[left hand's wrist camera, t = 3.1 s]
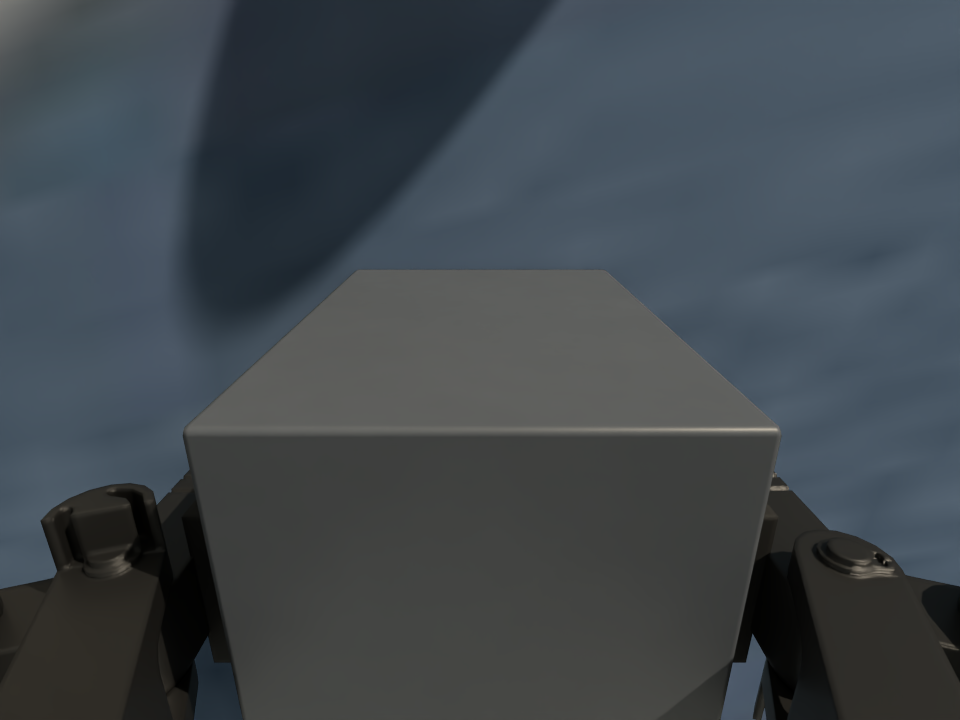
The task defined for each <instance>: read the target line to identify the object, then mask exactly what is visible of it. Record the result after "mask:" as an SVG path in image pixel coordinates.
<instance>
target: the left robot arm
mask: <svg viewBox="0 0 960 720" xmlns="http://www.w3.org/2000/svg"><path fill="white" fill-rule="evenodd" d="M41 524H42V527H43V530H44V533H45V536H46V539H47V542H48V545H49V548H50V551H51V554H52V557H53V560H54V563H55V566H56V569H57V573H56V575H55V577H54V578H51V579H47V580H42V581H37V582H32V583H28V584H23V585H18V586H13V587H8V588H4V589H0V720H194V713H195V705H196V698H197V690H198V676H197V669H196V665H195V661H194V659H195V657H196V655H197V654H198V652H199V650H200V648H201V647H202V645H203V643H204V641H205V640H206V638H207V636H208V637H209V642H210V646H211V650H212V655H213V659H214V662H231V661H230V656H229V651H228V647H227V642H226V637H225V632H224V628H223V623H222V618H221V614H220V609H219V604H218V599H217V595H216V590H215V585H214V581H213V576H212V571H211V567H210V562H209V557H208V552H207V548H206V543H205V538H204V534H203V529H202V524H201V519H200V515H199V510H198V505H197V501H196V496H195V491H194V486H193V482H192V477H191V472H190V470H189V471H188V472H187V473H186V474H185V475H184V479H181V480H180V481H179V482H178V483H177V484H176V485H175V486H174V487H173V488H172V492H171V493H168V494H167V495H166V496H165V497H164V498H163V499H162V500H161V501H160V502H159V503H158V504H157V505H156V501H155V497H154V493H153V491H152V490H150V489H149V488H148V487H146V486H144V485H138V484H132V483H127V484H114V485H108V486H104V487H100V488H96V489H92V490H89V491H86V492H84V493H81V494H79V495H76V496H74V497H71V498H69V499H67V500H66V501H64V502H63V503H61V504H59V505H58V506H56V507H54V508H53V509H51V510H50V511H49V513H48V514H47V515H46V516H45V517H44V518H43V519H42V520H41ZM752 633H753V635H754V637H755V638H756V640H757V642H758V644H759V645H760V647H761V649H762V651H763V652H764V654H765V656H766V661H765V665H764V669H763V674H762V678H761V682H760V686H759V690H758V694H757V698H756V702H755V707H754V714H753V719H756V720H761V718H762V714H763V710H764V708H765V711H766V719H767V720H960V587H959V586H954V585H950V584H945V583H940V582H935V581H930V580H925V579H921V578H916V577H911V576H907V575H905V574H904V572H903V570H902V569H901V568H900V566H899V565H898V564H897V563H896V561H895V560H894V559H893V558H892V557H891V556H889V555H888V554H887V553H885V552H884V551H882V550H881V549H880V548H878V547H877V546H875V545H873V544H871V543H869V542H867V541H865V540H863V539H860V538H858V537H856V536H852V535H849V534H845V533H842V532H838V531H832V530H828V529H827V527H826V526H825V525H824V524H823V523H822V522H821V521H820V520H819V519H818V518H817V517H816V516H815V515H814V514H813V513H812V511H811V510H810V509H809V508H808V507H807V506H806V505H805V504H804V503H803V502H802V501H801V500H800V499H799V498H798V497H797V495H796V494H795V493H794V492H793V491H789V487H788V486H787V485H786V484H785V483H784V482H783V481H782V479H781V478H780V477H777V474H776V473H775V472H774V473H773V477H772V482H771V487H770V491H769V496H768V501H767V505H766V510H765V514H764V519H763V524H762V528H761V533H760V538H759V542H758V547H757V552H756V556H755V561H754V566H753V570H752V575H751V579H750V584H749V589H748V593H747V598H746V603H745V607H744V612H743V617H742V621H741V626H740V631H739V635H738V640H737V644H736V649H735V654H734V658H733V662H746V659H747V655H748V650H749V646H750V642H751V637H752Z"/></svg>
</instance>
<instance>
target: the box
mask: <svg viewBox="0 0 960 720" xmlns="http://www.w3.org/2000/svg"><path fill="white" fill-rule="evenodd" d="M183 439H184V444H185V449H186V454H187V458H188V463H189V468H190V472H191V477H192V482H193V486H194V491H195V496H196V501H197V505H198V510H199V515H200V519H201V524H202V529H203V534H204V538H205V543H206V548H207V552H208V557H209V562H210V567H211V571H212V576H213V581H214V585H215V590H216V595H217V599H218V604H219V609H220V614H221V618H222V623H223V628H224V632H225V637H226V642H227V647H228V651H229V656H230V661H231V665H232V670H233V675H234V679H235V684H236V689H237V694H238V698H239V703H240V708H241V712H242V717H243V720H720V719H721V714H722V709H723V705H724V700H725V696H726V691H727V686H728V682H729V677H730V672H731V668H732V663H733V658H734V654H735V649H736V644H737V640H738V635H739V631H740V626H741V621H742V617H743V612H744V607H745V603H746V598H747V593H748V589H749V584H750V579H751V575H752V570H753V566H754V561H755V556H756V552H757V547H758V542H759V538H760V533H761V528H762V524H763V519H764V514H765V510H766V505H767V501H768V496H769V491H770V487H771V482H772V477H773V473H774V468H775V463H776V459H777V454H778V449H779V445H780V440H781V430H780V428H779V426H778V425H776V424H775V423H774V422H773V421H772V420H771V419H770V418H769V417H768V416H766V415H765V414H764V413H763V412H762V411H761V410H760V409H759V408H758V407H756V406H755V405H754V404H753V403H752V402H751V401H750V400H749V399H748V398H746V397H745V396H744V395H743V394H742V393H741V392H740V391H739V390H738V389H736V388H735V387H734V386H733V385H732V384H731V383H730V382H729V381H728V380H726V379H725V378H724V377H723V376H722V375H721V374H720V373H719V372H718V371H716V370H715V369H714V368H713V367H712V366H711V365H710V364H709V363H708V362H706V361H705V360H704V359H703V358H702V357H701V356H700V355H699V354H698V353H696V352H695V351H694V350H693V349H692V348H691V347H690V346H689V345H688V344H686V343H685V342H684V341H683V340H682V339H681V338H680V337H679V336H678V335H677V334H675V333H674V332H673V331H672V330H671V329H670V328H669V327H668V326H667V325H665V324H664V323H663V322H662V321H661V320H660V319H659V318H658V317H657V316H655V315H654V314H653V313H652V312H651V311H650V310H649V309H648V308H647V307H645V306H644V305H643V304H642V303H641V302H640V301H639V300H638V299H637V298H635V297H634V296H633V295H632V294H631V293H630V292H629V291H628V290H627V289H625V288H624V287H623V286H622V285H621V284H620V283H619V282H618V281H617V280H615V279H614V278H613V277H612V276H611V275H610V274H609V273H608V272H607V271H605V270H357V271H355V272H354V273H353V274H352V275H351V276H350V277H349V278H348V279H346V280H345V281H344V282H343V283H342V284H341V285H340V286H339V287H338V288H337V289H336V290H334V291H333V292H332V293H331V294H330V295H329V296H328V297H327V298H326V299H325V300H323V301H322V302H321V303H320V304H319V305H318V306H317V307H316V308H315V309H314V310H313V311H311V312H310V313H309V314H308V315H307V316H306V317H305V318H304V319H303V320H302V321H300V322H299V323H298V324H297V325H296V326H295V327H294V328H293V329H292V330H291V331H290V332H288V333H287V334H286V335H285V336H284V337H283V338H282V339H281V340H280V341H279V342H277V343H276V344H275V345H274V346H273V347H272V348H271V349H270V350H269V351H268V352H267V353H265V354H264V355H263V356H262V357H261V358H260V359H259V360H258V361H257V362H256V363H254V364H253V365H252V366H251V367H250V368H249V369H248V370H247V371H246V372H245V373H244V374H242V375H241V376H240V377H239V378H238V379H237V380H236V381H235V382H234V383H233V384H231V385H230V386H229V387H228V388H227V389H226V390H225V391H224V392H223V393H222V394H221V395H219V396H218V397H217V398H216V399H215V400H214V401H213V402H212V403H211V404H210V405H208V406H207V407H206V408H205V409H204V410H203V411H202V412H201V413H200V414H199V415H198V416H196V417H195V418H194V419H193V420H192V421H191V422H190V423H189V424H188V425H187V426H185V428H184V431H183Z"/></svg>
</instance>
